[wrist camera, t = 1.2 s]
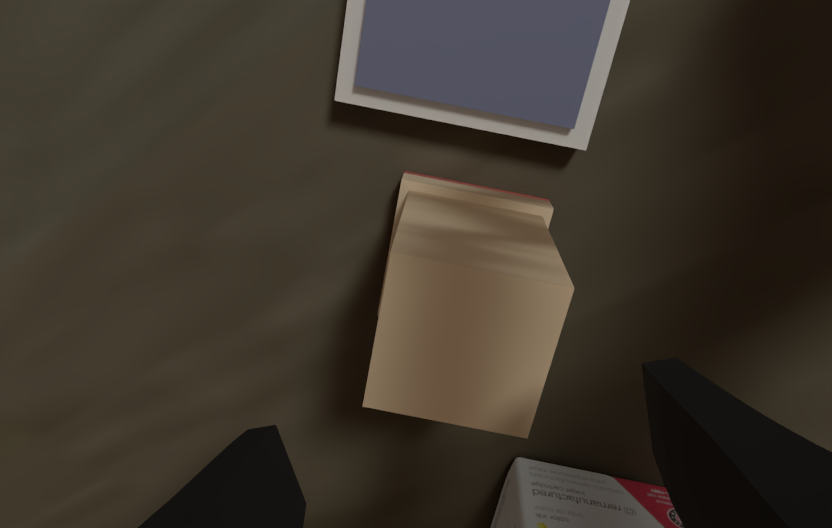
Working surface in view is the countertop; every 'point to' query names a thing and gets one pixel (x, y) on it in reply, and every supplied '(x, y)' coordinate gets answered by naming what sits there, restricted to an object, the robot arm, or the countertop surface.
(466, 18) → the ink pad
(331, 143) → the countertop surface
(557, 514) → the ink box
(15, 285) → the countertop surface
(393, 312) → the stamp
